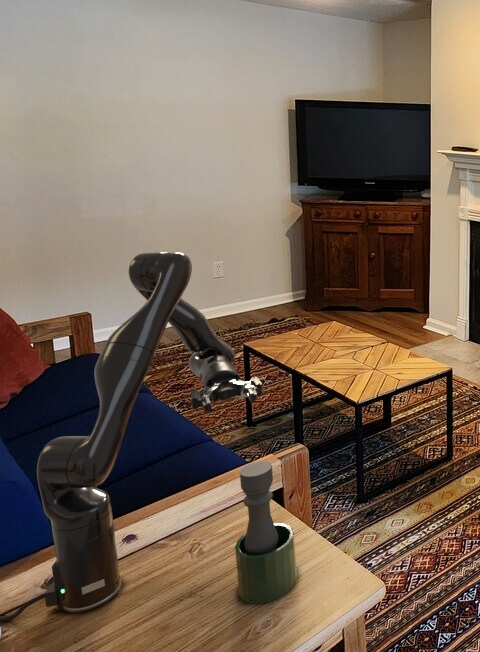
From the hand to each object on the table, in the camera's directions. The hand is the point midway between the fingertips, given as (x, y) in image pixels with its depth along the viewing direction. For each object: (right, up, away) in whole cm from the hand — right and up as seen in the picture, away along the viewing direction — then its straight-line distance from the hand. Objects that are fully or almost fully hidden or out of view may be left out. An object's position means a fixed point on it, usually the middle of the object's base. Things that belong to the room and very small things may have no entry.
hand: (231, 403), depth 135 cm
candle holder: (+12, -34, -10) cm, 37 cm away
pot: (+13, -34, -10) cm, 38 cm away
